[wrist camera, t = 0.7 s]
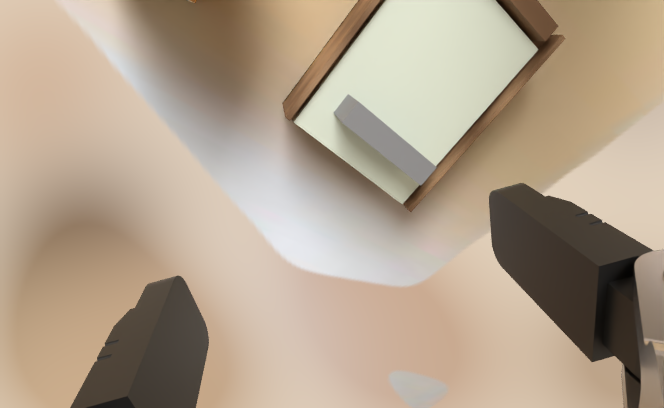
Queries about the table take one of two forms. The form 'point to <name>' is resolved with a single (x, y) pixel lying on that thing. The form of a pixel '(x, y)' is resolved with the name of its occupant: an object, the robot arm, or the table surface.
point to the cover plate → (414, 86)
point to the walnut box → (538, 28)
